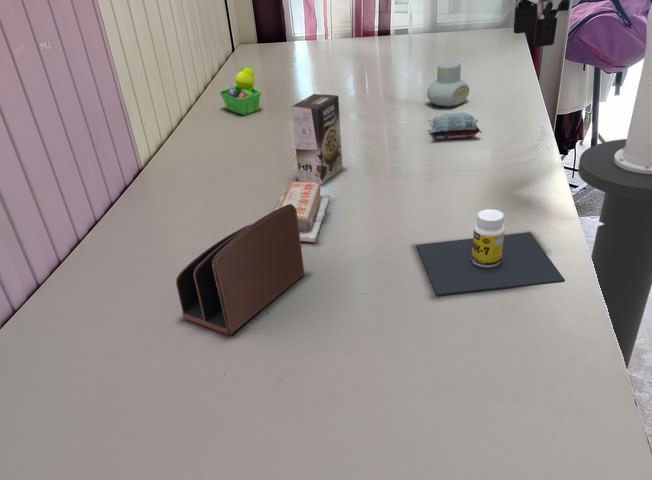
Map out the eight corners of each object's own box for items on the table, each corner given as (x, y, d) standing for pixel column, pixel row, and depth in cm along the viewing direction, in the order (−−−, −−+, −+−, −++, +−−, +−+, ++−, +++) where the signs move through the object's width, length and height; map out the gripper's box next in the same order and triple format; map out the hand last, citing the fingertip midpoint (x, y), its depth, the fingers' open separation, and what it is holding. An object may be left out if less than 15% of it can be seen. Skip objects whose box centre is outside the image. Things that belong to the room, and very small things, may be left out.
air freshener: (446, 112, 164) (448, 71, 158) (422, 106, 170) (422, 67, 164) (472, 100, 170) (475, 60, 163) (448, 95, 175) (450, 56, 169)
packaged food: (427, 129, 156) (428, 109, 153) (477, 127, 154) (479, 106, 151) (429, 143, 149) (430, 122, 146) (481, 140, 147) (483, 119, 144)
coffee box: (322, 185, 136) (316, 108, 126) (297, 181, 139) (289, 105, 129) (344, 169, 142) (339, 94, 132) (319, 165, 145) (313, 92, 135)
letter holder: (305, 274, 108) (297, 197, 99) (230, 337, 96) (214, 255, 87) (259, 261, 113) (248, 187, 104) (183, 319, 101) (162, 240, 92)
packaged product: (280, 178, 129) (328, 177, 127) (282, 200, 132) (330, 200, 130) (259, 219, 115) (313, 219, 113) (263, 243, 118) (316, 243, 116)
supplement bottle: (465, 261, 106) (468, 214, 100) (484, 250, 108) (488, 205, 102) (488, 271, 102) (492, 224, 97) (507, 260, 104) (512, 214, 99)
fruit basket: (221, 109, 184) (214, 68, 177) (246, 101, 188) (240, 61, 181) (242, 117, 177) (235, 75, 170) (268, 109, 180) (262, 67, 174)
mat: (529, 234, 111) (530, 232, 111) (564, 282, 99) (565, 279, 98) (416, 246, 112) (416, 244, 111) (436, 296, 99) (436, 294, 99)
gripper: (596, -84, 88) (575, 48, 99) (551, -92, 102) (537, 25, 113) (542, -78, 88) (527, 54, 99) (504, -86, 102) (494, 30, 113)
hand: (532, 38), depth 106 cm, fingers open, 9 cm apart
